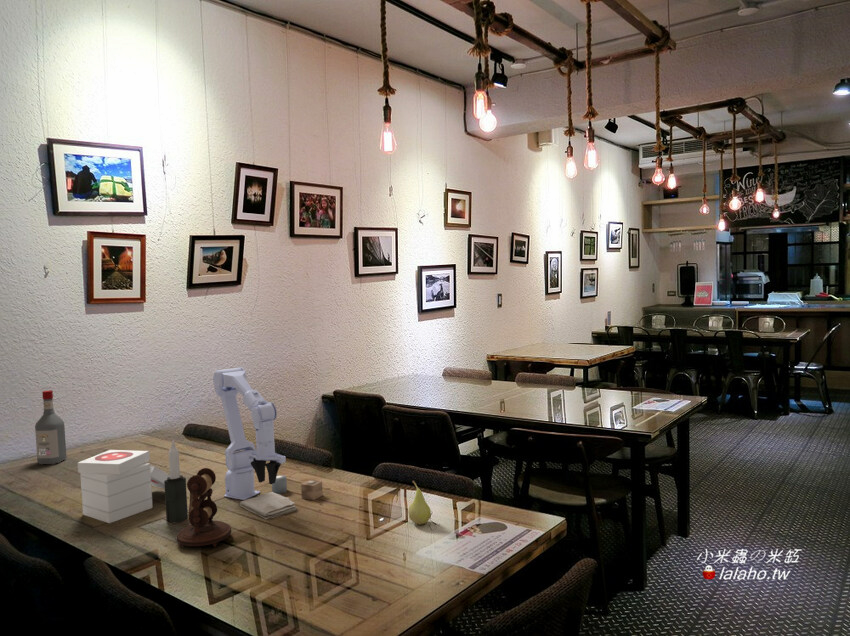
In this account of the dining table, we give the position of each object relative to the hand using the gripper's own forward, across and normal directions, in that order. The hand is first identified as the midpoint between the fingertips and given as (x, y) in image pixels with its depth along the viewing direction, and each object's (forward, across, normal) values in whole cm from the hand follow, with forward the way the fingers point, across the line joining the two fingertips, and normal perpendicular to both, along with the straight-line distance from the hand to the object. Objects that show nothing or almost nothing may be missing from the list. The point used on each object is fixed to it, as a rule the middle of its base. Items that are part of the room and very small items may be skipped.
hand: (267, 482), depth 203 cm
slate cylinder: (+8, -7, +14) cm, 18 cm away
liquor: (+9, -122, +6) cm, 122 cm away
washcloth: (+9, 0, 0) cm, 9 cm away
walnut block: (+8, +7, +14) cm, 18 cm away
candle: (+9, -20, -19) cm, 29 cm away
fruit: (+9, +51, +8) cm, 52 cm away
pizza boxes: (+9, -44, -16) cm, 48 cm away
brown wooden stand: (+9, 0, -27) cm, 28 cm away
